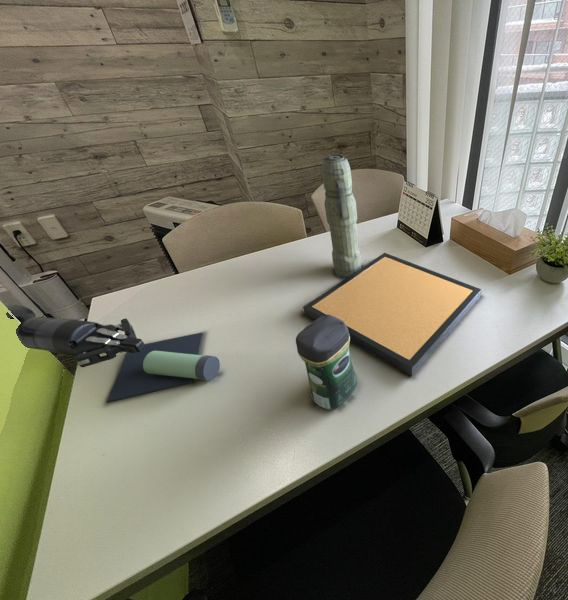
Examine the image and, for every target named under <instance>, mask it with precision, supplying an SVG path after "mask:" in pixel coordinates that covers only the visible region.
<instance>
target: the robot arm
mask: <svg viewBox="0 0 568 600" xmlns="http://www.w3.org/2000/svg"><path fill="white" fill-rule="evenodd" d="M4 305H5V306H6V307H7V308H8V310H10V311H11V313H12V314H13V315H14V316H15V317H16V318H17V319H18V320H19V321H20V322H21V324H20V325H19V326H18V328H17V329H16V334H17V336H18V338H19V340H20V341H21V343H22V344H23V345H24V346H25V347H27V348H30V349H29V350H31V349H33V350H40V351H46V352H48V353H49V352H50V353H53V354H58V355H59V354H60V355H66V356H73V360H74V362H75V363H76V364H77V365H78V366H79V367H80V368H82V369H83V368H86V367H89V366H93V365H97V364H100V363H103V362H106V361H109V360H113V359H115V358H116V357H117V354H123V353H128V352H129V353H136V352H141V351H142V350H143V349H144V348H145V344H146V343H144V341H143V339H141V338H139V337H138V338H137V335H136V332H135V330H134V327H133V325H132V324H131V322H130V321H129V320H128V318H122V319H121V320H120V323H118V324H116V325H114V324H106V325H103V324H101V323H99V322H95V321H89V320H88V321H87V320H80V319H72V318H54V317H47V316H36V313H35V312H34V311H33V310H32V309H31V308H29V307H27V306H25V305H18V304H4ZM6 315H7V317H8V318H10V319H14V318H13V317H12V316H13V315H12V316H11V315H10V314H9V313H8V312H7V313H6ZM120 331H121V332H124V334H123V333H120ZM102 354H104V355H102Z"/></svg>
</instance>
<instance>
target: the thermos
mask: <svg viewBox="0 0 568 600" xmlns="http://www.w3.org/2000/svg"><path fill="white" fill-rule="evenodd" d="M321 175H322V176H321V177H322V182H323V189H324V190H325V192H324V195H325V196H324V197H325V198H324V205H323V206H324V210H325V217H326V223H327V224H328V226H329V232H330V240H331V246H332V247H331V248H332V250H331V257H332V258H331V259H332V265H333V267H334V273H335V275H336V277H339V278H343V279H346V278H347V277H349V276H350V275H352V274H353V273H355V272H356V271H358V270H359V269H361V268H362V264H363V263H362V254H361V253H362V252H361V250H360V249H359V240H358V230H357V228H358V227H357V222H358V210H357V201H356V198H355V196H354V192H353V190H352V188H353V181H352V180H353V179H352V170H351V165H350V163H349V160H348V158H347V157H346V156H344V155H342V154H329V155H326V156H325V157H324V158H322V163H321Z"/></svg>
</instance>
